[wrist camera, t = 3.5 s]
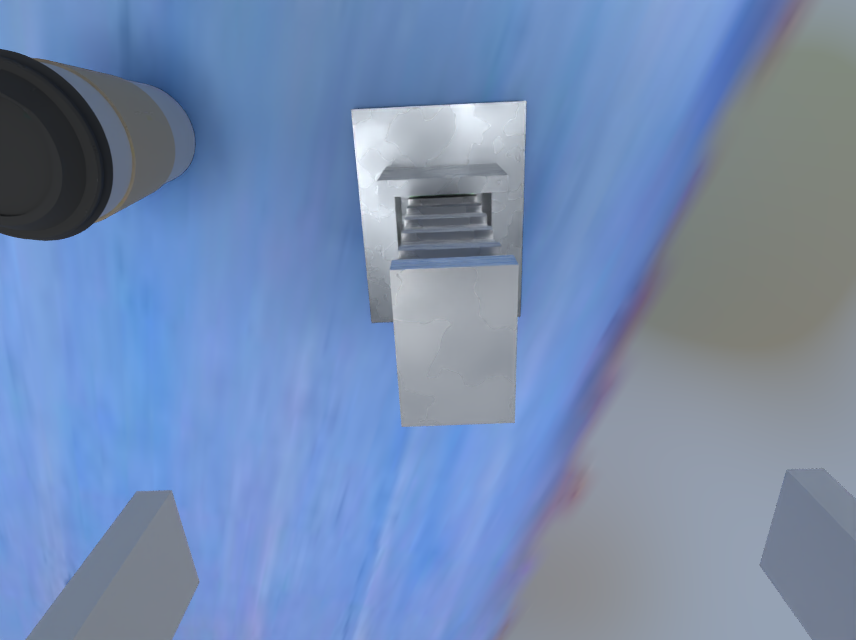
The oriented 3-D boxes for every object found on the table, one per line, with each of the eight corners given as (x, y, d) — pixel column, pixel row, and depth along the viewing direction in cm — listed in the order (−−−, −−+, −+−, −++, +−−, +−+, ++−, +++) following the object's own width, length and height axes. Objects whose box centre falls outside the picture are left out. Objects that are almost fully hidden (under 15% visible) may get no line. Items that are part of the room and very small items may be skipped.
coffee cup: (195, 216, 39) (70, 280, 26) (73, 170, 38) (-128, 212, 24) (222, 96, 36) (95, 96, 22) (90, 41, 35) (-133, 5, 21)
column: (415, 264, 40) (401, 426, 20) (410, 179, 37) (389, 270, 18) (472, 262, 40) (514, 422, 20) (471, 176, 37) (518, 264, 18)
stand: (372, 317, 43) (361, 362, 36) (352, 109, 36) (334, 112, 29) (518, 311, 42) (536, 355, 35) (523, 100, 36) (547, 101, 29)
